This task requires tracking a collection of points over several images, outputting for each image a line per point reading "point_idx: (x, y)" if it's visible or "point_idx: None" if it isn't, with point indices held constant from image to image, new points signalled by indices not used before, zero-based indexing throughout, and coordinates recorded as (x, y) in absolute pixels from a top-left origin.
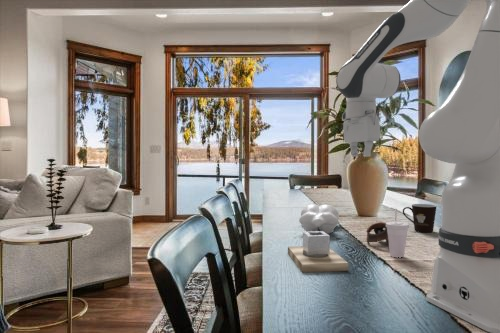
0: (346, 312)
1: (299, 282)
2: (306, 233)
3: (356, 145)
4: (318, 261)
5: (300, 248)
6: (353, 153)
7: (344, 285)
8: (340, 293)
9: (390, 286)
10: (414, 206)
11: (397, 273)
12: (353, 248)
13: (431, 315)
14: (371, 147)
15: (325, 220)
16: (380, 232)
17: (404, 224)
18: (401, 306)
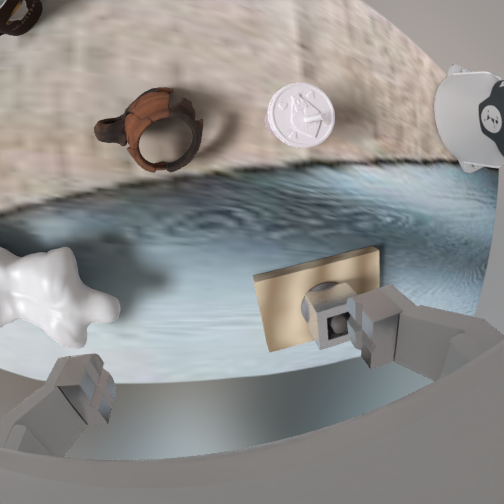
0: (471, 263)
1: None
2: (337, 341)
3: (32, 436)
4: None
5: (283, 331)
6: (109, 403)
7: (422, 258)
8: (440, 265)
9: (431, 197)
10: None
11: (387, 164)
12: (212, 210)
13: (484, 184)
14: (455, 319)
15: (84, 288)
16: (196, 138)
17: (313, 97)
18: (471, 206)
